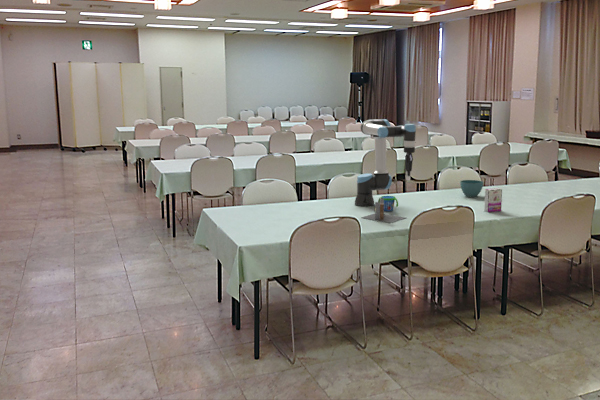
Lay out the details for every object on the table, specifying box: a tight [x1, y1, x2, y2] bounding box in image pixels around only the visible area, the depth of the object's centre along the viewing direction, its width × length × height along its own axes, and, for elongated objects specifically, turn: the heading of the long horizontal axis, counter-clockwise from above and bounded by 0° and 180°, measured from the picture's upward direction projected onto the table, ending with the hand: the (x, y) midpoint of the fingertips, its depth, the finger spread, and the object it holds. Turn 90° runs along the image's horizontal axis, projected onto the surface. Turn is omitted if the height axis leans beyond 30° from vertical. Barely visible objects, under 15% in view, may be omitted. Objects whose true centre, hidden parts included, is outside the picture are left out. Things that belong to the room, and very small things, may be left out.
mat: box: [360, 213, 407, 224], centre depth 398 cm, size 24×20×1 cm
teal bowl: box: [459, 179, 484, 198], centre depth 470 cm, size 18×18×12 cm
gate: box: [380, 204, 385, 220], centre depth 397 cm, size 14×2×10 cm, turn 172°
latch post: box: [374, 201, 380, 220], centre depth 391 cm, size 5×3×12 cm, turn 172°
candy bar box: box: [484, 187, 503, 213], centre depth 415 cm, size 11×5×16 cm, turn 105°
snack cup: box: [377, 195, 399, 212], centre depth 421 cm, size 16×10×10 cm
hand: (408, 180), depth 400 cm, fingers closed
